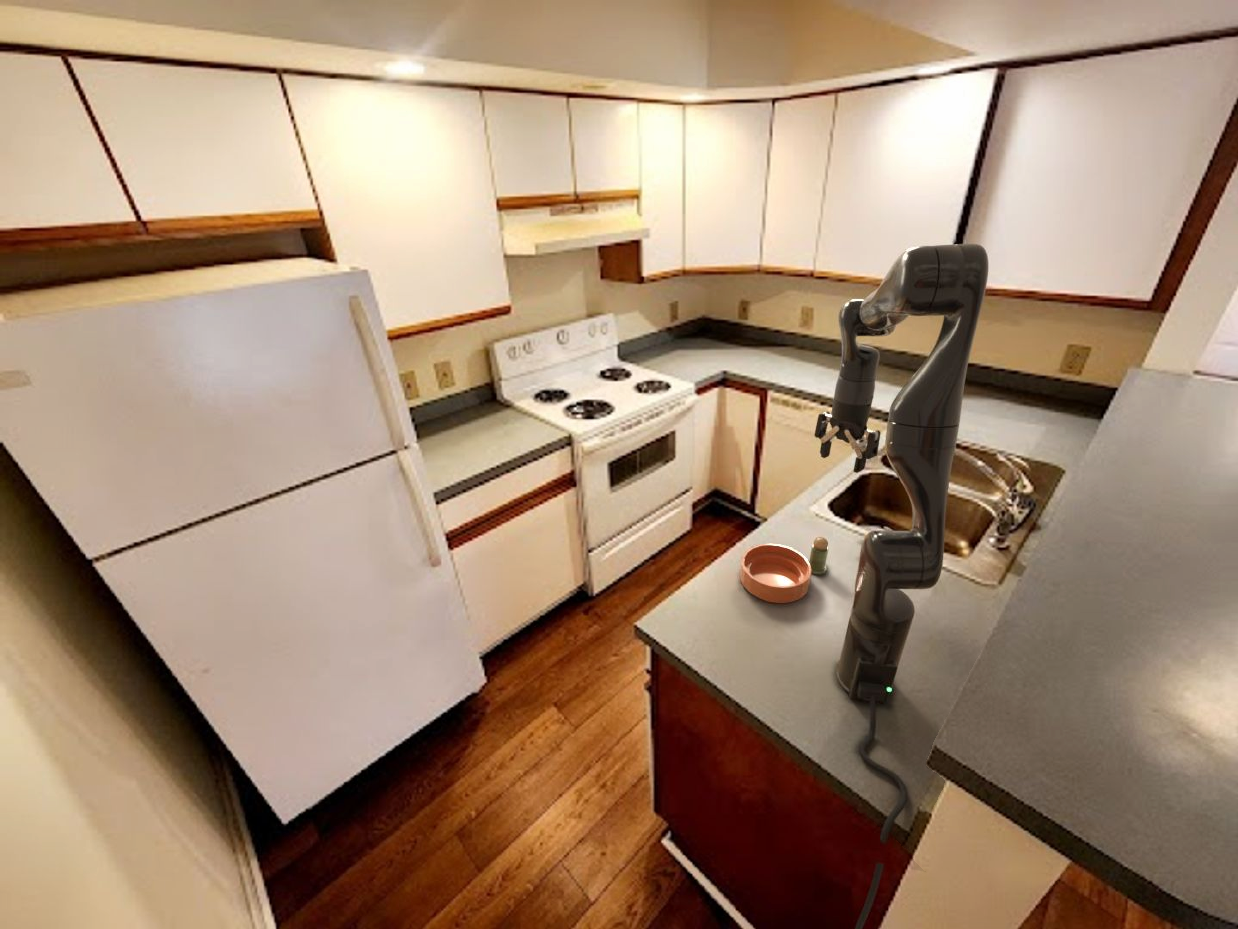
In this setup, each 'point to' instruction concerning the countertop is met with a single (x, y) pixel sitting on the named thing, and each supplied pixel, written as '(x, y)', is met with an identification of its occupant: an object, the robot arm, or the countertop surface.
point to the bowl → (775, 573)
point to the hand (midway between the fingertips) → (840, 463)
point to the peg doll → (819, 556)
